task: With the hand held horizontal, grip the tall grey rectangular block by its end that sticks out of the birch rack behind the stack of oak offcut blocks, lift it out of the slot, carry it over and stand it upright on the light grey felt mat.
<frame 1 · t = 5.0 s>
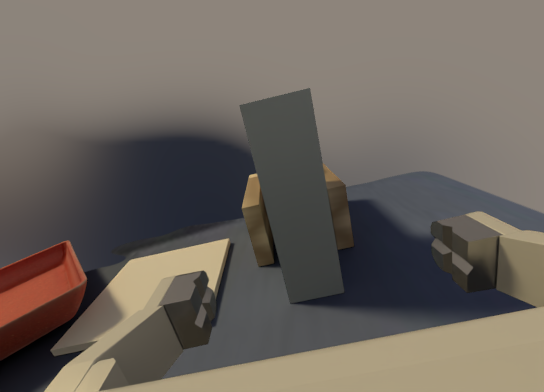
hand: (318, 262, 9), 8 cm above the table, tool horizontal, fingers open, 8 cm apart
grey rectangular block: (308, 266, 23), on the table
rack: (298, 230, 29), on the table
felt mat: (161, 287, 25), on the table
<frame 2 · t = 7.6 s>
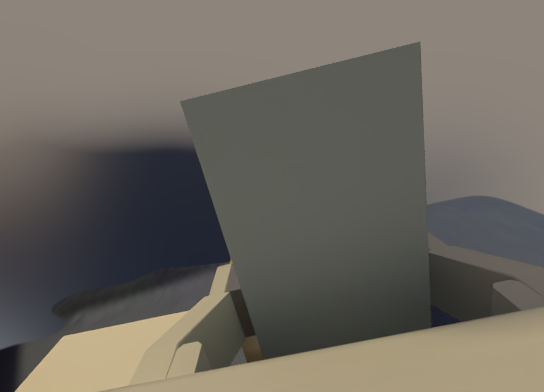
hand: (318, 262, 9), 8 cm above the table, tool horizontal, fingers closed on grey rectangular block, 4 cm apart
rack: (317, 296, 19), on the table
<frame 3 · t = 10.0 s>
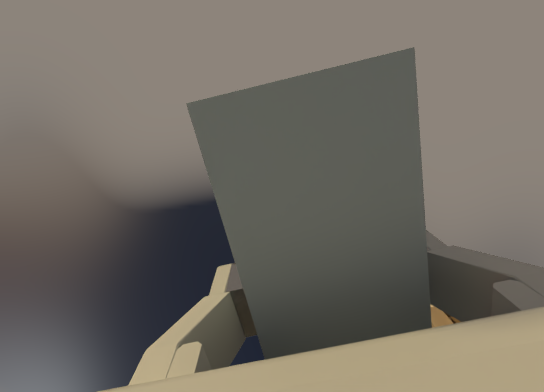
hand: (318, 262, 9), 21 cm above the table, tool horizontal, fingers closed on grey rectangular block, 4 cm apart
when the fingers open (10 cm above the table, at t = 12.6 s): grey rectangular block stays where it is, resting on felt mat.
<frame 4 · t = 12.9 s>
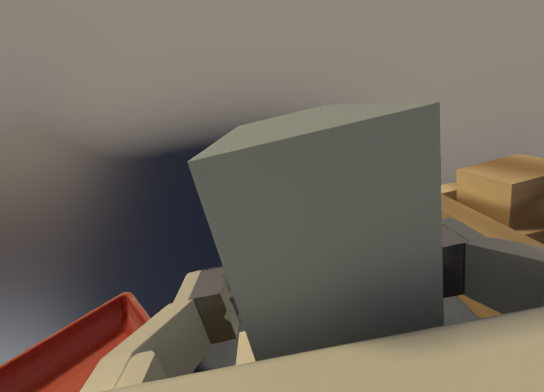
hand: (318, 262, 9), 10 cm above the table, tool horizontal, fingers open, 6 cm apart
rack: (530, 287, 18), on the table
offcut upper: (511, 209, 18), point 5 cm above the table, touching offcut lower
offcut lower: (511, 262, 19), point 1 cm above the table, touching offcut upper, rack
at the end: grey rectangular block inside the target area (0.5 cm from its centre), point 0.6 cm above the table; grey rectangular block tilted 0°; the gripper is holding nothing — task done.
